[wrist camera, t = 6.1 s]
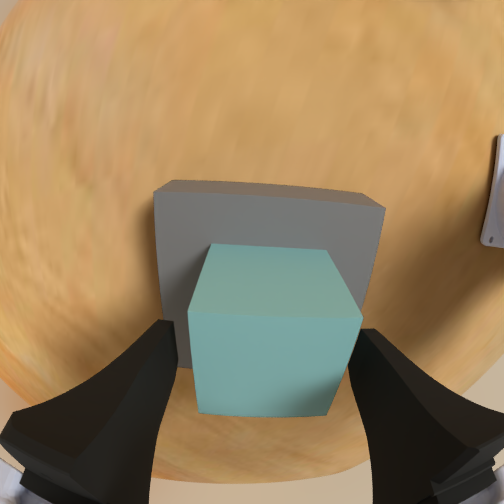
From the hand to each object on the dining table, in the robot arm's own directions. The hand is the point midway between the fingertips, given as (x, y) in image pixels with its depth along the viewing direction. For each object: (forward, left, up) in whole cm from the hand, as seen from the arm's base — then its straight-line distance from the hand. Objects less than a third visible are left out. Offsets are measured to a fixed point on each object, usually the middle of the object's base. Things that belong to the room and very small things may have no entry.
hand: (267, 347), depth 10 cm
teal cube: (0, 0, -3) cm, 3 cm away
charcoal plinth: (0, 0, -6) cm, 6 cm away
